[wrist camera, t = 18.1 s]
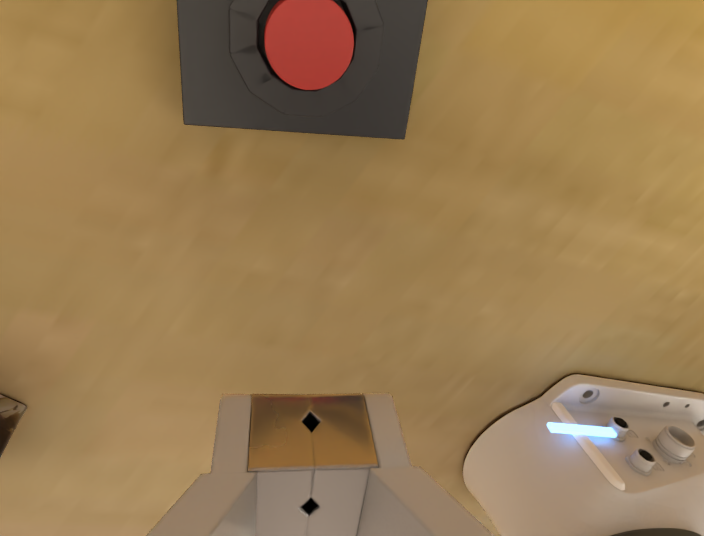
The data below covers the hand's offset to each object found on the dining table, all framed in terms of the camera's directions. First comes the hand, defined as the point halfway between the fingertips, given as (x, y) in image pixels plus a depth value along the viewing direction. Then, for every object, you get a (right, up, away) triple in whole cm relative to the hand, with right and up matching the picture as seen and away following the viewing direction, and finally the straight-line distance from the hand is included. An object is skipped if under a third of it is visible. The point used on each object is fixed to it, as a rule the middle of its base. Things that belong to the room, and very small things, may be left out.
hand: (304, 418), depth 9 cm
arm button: (-1, +13, +12) cm, 18 cm away
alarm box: (-2, +14, +15) cm, 21 cm away
